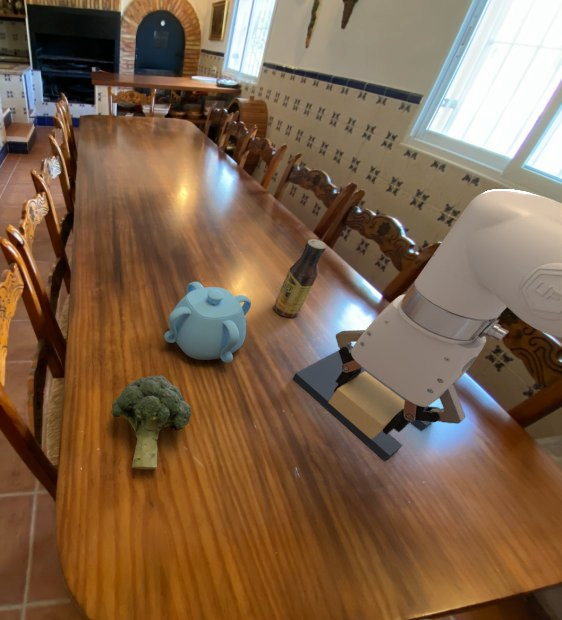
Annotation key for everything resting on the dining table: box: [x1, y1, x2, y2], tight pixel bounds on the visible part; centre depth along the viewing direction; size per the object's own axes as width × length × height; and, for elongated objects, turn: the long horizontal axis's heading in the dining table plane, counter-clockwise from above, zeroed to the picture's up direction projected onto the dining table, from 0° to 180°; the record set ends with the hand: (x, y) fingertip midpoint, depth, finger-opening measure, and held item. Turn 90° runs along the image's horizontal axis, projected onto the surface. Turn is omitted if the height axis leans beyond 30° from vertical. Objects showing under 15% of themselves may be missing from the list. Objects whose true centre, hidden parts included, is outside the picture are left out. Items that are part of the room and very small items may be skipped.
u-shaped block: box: [292, 349, 433, 462], centre depth 70 cm, size 20×16×2 cm
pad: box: [328, 371, 405, 439], centre depth 49 cm, size 7×7×3 cm
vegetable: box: [110, 374, 192, 470], centre depth 58 cm, size 12×13×15 cm
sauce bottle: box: [273, 238, 327, 318], centre depth 84 cm, size 7×6×20 cm
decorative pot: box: [163, 281, 252, 364], centre depth 76 cm, size 16×16×14 cm
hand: (364, 407), depth 50 cm, fingers closed on pad, 6 cm apart
